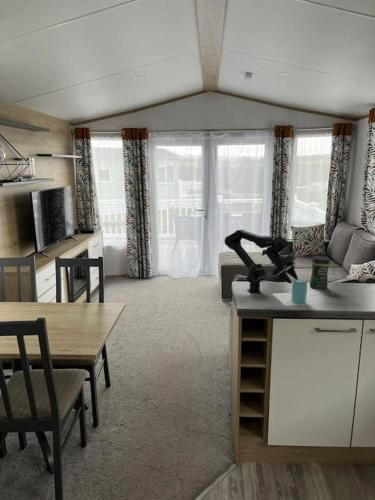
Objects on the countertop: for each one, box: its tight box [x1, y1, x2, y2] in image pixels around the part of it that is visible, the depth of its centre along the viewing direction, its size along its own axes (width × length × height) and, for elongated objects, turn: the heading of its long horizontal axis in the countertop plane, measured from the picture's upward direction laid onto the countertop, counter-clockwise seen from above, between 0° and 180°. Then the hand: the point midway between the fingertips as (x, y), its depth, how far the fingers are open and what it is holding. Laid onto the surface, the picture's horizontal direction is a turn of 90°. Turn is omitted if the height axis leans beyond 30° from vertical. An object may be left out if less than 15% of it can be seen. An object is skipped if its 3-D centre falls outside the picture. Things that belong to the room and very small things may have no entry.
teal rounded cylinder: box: [291, 278, 308, 304], centre depth 193 cm, size 7×7×11 cm
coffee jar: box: [309, 255, 330, 290], centre depth 219 cm, size 10×8×19 cm
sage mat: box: [272, 292, 312, 306], centre depth 199 cm, size 19×14×1 cm
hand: (294, 281), depth 194 cm, fingers open, 9 cm apart
